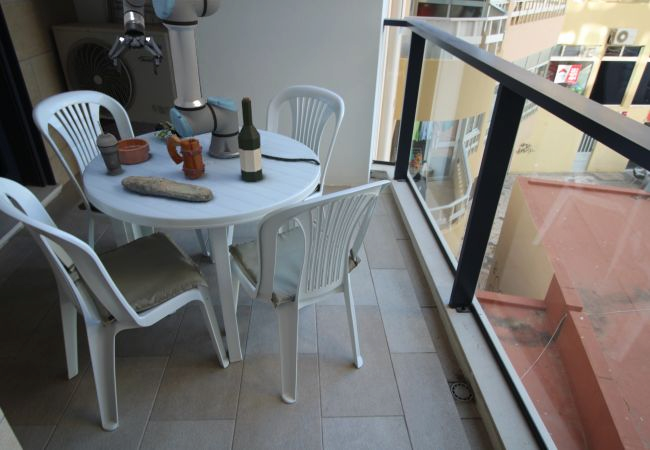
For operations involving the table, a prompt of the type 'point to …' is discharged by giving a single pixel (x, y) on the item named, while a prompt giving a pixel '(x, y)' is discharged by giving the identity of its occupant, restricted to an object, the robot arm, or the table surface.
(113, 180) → the table surface
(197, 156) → the mug
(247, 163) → the wine bottle
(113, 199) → the table surface
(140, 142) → the bowl
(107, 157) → the beverage cup
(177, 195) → the long grey stone
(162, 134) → the passion flower
